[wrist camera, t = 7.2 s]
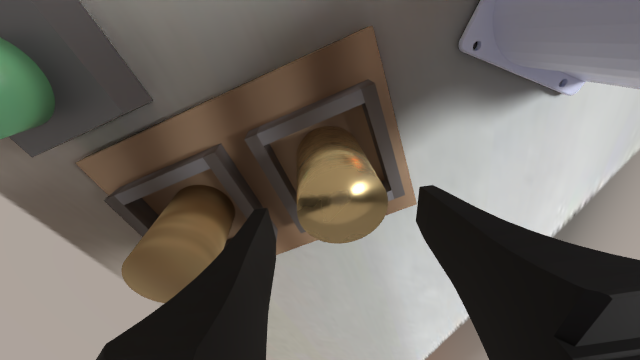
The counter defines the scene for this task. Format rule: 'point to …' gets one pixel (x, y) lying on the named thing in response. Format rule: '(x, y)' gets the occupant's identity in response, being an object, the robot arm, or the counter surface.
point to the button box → (70, 69)
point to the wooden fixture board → (245, 161)
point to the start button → (22, 92)
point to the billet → (337, 187)
